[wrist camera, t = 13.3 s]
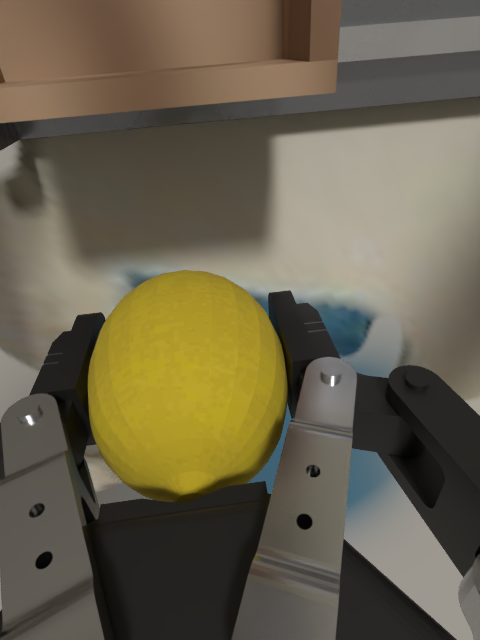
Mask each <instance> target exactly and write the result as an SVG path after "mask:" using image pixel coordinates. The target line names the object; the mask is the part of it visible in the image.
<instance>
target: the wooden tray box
mask: <svg viewBox="0 0 480 640" xmlns="http://www.w3.org/2000/svg"><path fill="white" fill-rule="evenodd" d="M341 5H342V0H0V123H8V122H19V121H30V120H41V119H52V118H63V117H74V116H85V115H96V114H107V113H118V112H129V111H140V110H151V109H162V108H173V107H184V106H195V105H206V104H217V103H228V102H239V101H250V100H261V99H272V98H283V97H294V96H305V95H316V94H327V93H336V82H337V66H338V51H339V36H340V20H341Z"/></svg>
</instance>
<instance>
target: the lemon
mask: <svg viewBox="0 0 480 640" xmlns="http://www.w3.org/2000/svg"><path fill="white" fill-rule="evenodd" d="M287 395H288V387H287V375H286V368H285V361H284V354H283V350H282V345H281V343H280V340H279V337H278V335H277V333H276V331H275V329H274V327H273V325H272V323H271V321H270V320H269V318H268V316H267V314H266V312H265V311H264V309H263V308H262V307H261V306H260V305H259V304H258V303H257V302H256V300H255V299H254V298H253V297H252V296H251V295H250V294H249V293H248V292H247V291H246V290H244V289H243V288H241V287H240V286H238V285H236V284H235V283H233V282H231V281H230V280H228V279H226V278H225V277H222V276H218V275H215V274H211V273H208V272H203V271H187V270H183V271H177V272H171V273H164V274H162V275H159V276H157V277H154V278H152V279H149V280H147V281H145V282H143V283H142V284H140V285H139V286H138V287H136V288H135V289H134V290H132V291H131V292H130V293H128V294H127V295H126V296H124V298H123V299H122V300H121V301H120V302H119V303H118V305H117V306H116V307H115V309H114V310H113V311H112V313H111V314H110V315H109V316H108V318H107V319H106V321H105V322H104V324H103V326H102V328H101V330H100V333H99V336H98V339H97V342H96V345H95V348H94V351H93V354H92V356H91V360H90V365H89V373H88V405H89V418H90V424H91V429H92V433H93V436H94V439H95V442H96V444H97V446H98V448H99V451H100V453H101V455H102V457H103V459H104V461H105V462H106V464H107V465H108V466H109V467H110V468H111V470H112V471H113V472H114V473H115V474H116V475H117V476H118V477H119V478H120V479H121V480H122V481H123V483H125V484H126V485H128V486H129V487H130V488H132V489H133V490H135V491H137V492H138V493H140V494H141V495H143V496H145V497H148V498H150V499H153V500H157V501H166V502H175V503H186V502H189V501H191V500H194V499H196V498H199V497H201V496H204V495H206V494H209V493H211V492H214V491H216V490H219V489H221V488H224V487H228V486H235V485H242V484H247V483H248V482H249V481H250V480H251V479H252V478H253V477H254V476H255V475H256V474H257V473H258V472H259V471H260V470H261V469H262V468H263V467H264V465H265V464H266V463H267V462H268V460H269V458H270V456H271V455H272V453H273V452H274V450H275V448H276V446H277V444H278V442H279V439H280V437H281V433H282V429H283V424H284V419H285V414H286V408H287Z"/></svg>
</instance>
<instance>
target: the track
mask: <svg viewBox="0 0 480 640" xmlns="http://www.w3.org/2000/svg"><path fill="white" fill-rule="evenodd" d="M478 96H480V0H342V5H341V20H340V36H339V51H338V66H337V82H336V93H327V94H316V95H305V96H294V97H283V98H272V99H261V100H250V101H239V102H228V103H217V104H206V105H195V106H184V107H173V108H162V109H151V110H140V111H129V112H118V113H107V114H96V115H85V116H74V117H63V118H52V119H41V120H30V121H19V122H8V123H0V150H2V149H4V148H6V147H7V146H9V145H11V144H13V143H15V142H16V141H18V140H20V139H29V138H40V137H51V136H61V135H72V134H83V133H94V132H104V131H115V130H126V129H136V128H147V127H158V126H168V125H179V124H190V123H200V122H211V121H222V120H232V119H243V118H254V117H264V116H275V115H286V114H296V113H307V112H318V111H329V110H339V109H350V108H361V107H371V106H382V105H393V104H403V103H414V102H425V101H435V100H446V99H457V98H467V97H478Z"/></svg>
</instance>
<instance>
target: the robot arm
mask: <svg viewBox="0 0 480 640" xmlns="http://www.w3.org/2000/svg"><path fill="white" fill-rule="evenodd" d="M268 303H269V320H270V321H271V323H272V325H273V327H274V329H275V331H276V333H277V335H278V337H279V340H280V343H281V345H282V350H283V354H284V361H285V368H286V375H287V387H288V395H287V403H288V407H289V411H290V414H291V418H292V419H293V418H294V420H291V421H290V423H289V427H288V430H287V434H286V438H285V442H284V446H283V450H282V454H281V458H280V463H279V466H278V470H277V474H276V478H275V482H274V486H273V490H272V494H268V493H267V488H266V482H265V481H263V482H256V483H249V484H242V485H235V486H228V487H224V488H221V489H219V490H216V491H214V492H211V493H209V494H206V495H204V496H201V497H199V498H196V499H194V500H191V501H189V502H186V503H175V502H166V501H157V500H148V499H136V500H129V501H123V502H115V503H109V504H101V506H100V507H99V504H98V500H97V497H96V493H95V490H94V486H93V483H92V479H91V476H90V472H89V469H88V465H87V462H86V460H85V458H84V453H85V449H86V446H87V445H94V444H96V442H95V439H94V436H93V433H92V429H91V424H90V418H89V405H88V373H89V365H90V360H91V356H92V354H93V351H94V348H95V345H96V342H97V339H98V336H99V333H100V330H101V328H102V326H103V324H104V322H105V321H106V320H105V317H104V315H103V314H102V313H101V312H100V313H91V314H83V315H78V316H77V317H76V320H75V322H74V325H73V327H72V330H71V331H66V332H63V333H62V334H61V335H60V336H59V337H58V338H57V339H56V340H55V341H54V342H53V343H52V345H51V347H50V350H49V352H48V356H46V359H45V361H44V365H42V368H41V370H40V372H39V375H38V377H37V379H36V381H35V384H34V386H33V388H32V390H31V393H30V395H29V396H27V397H25V398H22V399H20V400H19V401H17V402H16V403H14V404H13V405H12V406H10V407H9V408H8V409H7V411H6V412H5V413H4V415H3V417H2V419H1V423H0V582H1V600H2V610H1V611H0V640H456V639H455V638H454V637H453V636H452V635H451V634H450V633H449V632H448V631H446V630H445V629H444V628H443V627H442V626H441V625H440V624H439V623H437V622H436V621H435V620H434V619H433V618H432V617H431V616H430V615H428V614H427V613H426V612H425V611H424V610H423V609H422V608H421V607H419V606H418V605H417V604H416V603H415V602H414V601H413V600H411V599H410V598H409V597H408V596H407V595H406V594H405V593H404V592H403V591H402V590H400V589H399V588H398V587H397V586H396V585H395V584H394V583H393V582H391V581H390V580H389V579H388V578H387V577H386V576H385V575H384V574H382V573H381V572H380V571H379V570H378V569H377V568H376V567H375V566H374V565H373V564H371V563H370V562H369V561H368V560H367V559H366V558H365V557H364V556H362V555H361V554H360V553H359V552H358V551H357V550H355V549H354V548H353V547H352V546H351V545H350V544H349V543H348V542H347V541H346V540H345V539H344V527H345V517H346V505H347V494H348V483H349V472H350V461H351V449H352V448H355V449H360V450H367V451H373V452H377V453H378V455H379V456H380V458H381V459H382V461H383V462H384V463H385V465H386V466H387V468H388V469H389V471H390V472H391V474H392V475H393V476H394V478H395V479H396V481H397V482H398V484H399V485H400V487H401V488H402V489H403V491H404V492H405V494H406V495H407V497H408V498H409V500H410V501H411V502H412V504H413V505H414V507H415V508H416V510H417V511H418V512H419V514H420V515H421V517H422V518H423V520H424V521H425V523H426V524H427V525H428V527H429V528H430V530H431V531H432V533H433V534H434V536H435V537H436V538H437V540H438V541H439V543H440V544H441V546H442V547H443V549H444V550H445V551H446V553H447V554H448V556H449V557H450V559H451V560H452V562H453V563H454V564H455V566H456V567H457V569H458V570H459V572H460V573H461V575H462V576H463V580H462V581H461V583H460V586H459V592H458V594H459V595H458V596H459V603H460V606H461V609H462V612H463V614H464V616H465V618H466V620H467V622H468V624H469V626H470V628H471V631H472V634H473V638H474V640H480V416H479V415H478V414H477V413H476V412H475V411H474V410H473V409H472V408H471V407H470V406H469V405H468V404H467V403H466V402H465V401H464V400H463V399H462V398H461V397H460V396H459V395H458V394H456V393H455V392H454V391H453V390H452V389H451V388H450V387H449V386H448V385H447V384H446V383H445V382H444V381H443V380H442V379H441V378H440V377H439V376H438V375H436V374H435V373H433V372H432V371H430V370H428V369H425V368H423V367H419V366H411V365H408V366H401V367H398V368H396V369H394V370H393V371H392V372H391V373H390V375H389V378H382V377H373V376H366V375H362V374H359V373H357V372H356V371H355V369H354V367H353V366H352V365H350V364H349V363H348V362H346V361H344V360H342V359H341V358H340V356H339V354H338V352H337V350H336V348H335V346H334V344H333V342H332V340H331V338H330V336H329V334H328V332H327V331H326V327H325V325H324V323H322V319H321V317H320V315H319V313H318V311H317V310H316V309H314V308H313V307H312V306H311V305H309V304H308V303H302V304H296V302H295V300H294V297H293V295H292V293H291V291H290V290H289V291H281V292H272V293H269V295H268Z"/></svg>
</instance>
